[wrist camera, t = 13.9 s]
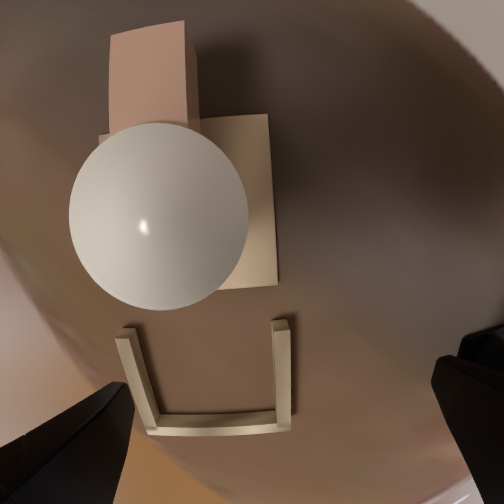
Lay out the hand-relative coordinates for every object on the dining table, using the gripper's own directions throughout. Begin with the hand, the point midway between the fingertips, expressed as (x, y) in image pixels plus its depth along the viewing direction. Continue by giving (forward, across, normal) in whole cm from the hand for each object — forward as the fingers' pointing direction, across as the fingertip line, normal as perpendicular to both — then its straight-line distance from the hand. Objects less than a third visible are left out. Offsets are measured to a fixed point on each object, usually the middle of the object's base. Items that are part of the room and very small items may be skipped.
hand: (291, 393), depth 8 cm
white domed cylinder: (+11, +4, -7) cm, 14 cm away
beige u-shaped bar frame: (+11, +4, +7) cm, 14 cm away
